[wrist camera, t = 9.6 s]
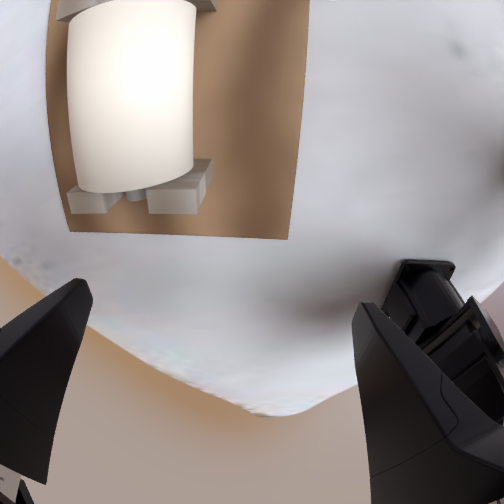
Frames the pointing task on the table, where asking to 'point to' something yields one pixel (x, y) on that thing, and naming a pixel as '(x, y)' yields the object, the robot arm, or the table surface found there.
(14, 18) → the table surface
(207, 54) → the roll cradle
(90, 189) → the paper roll
